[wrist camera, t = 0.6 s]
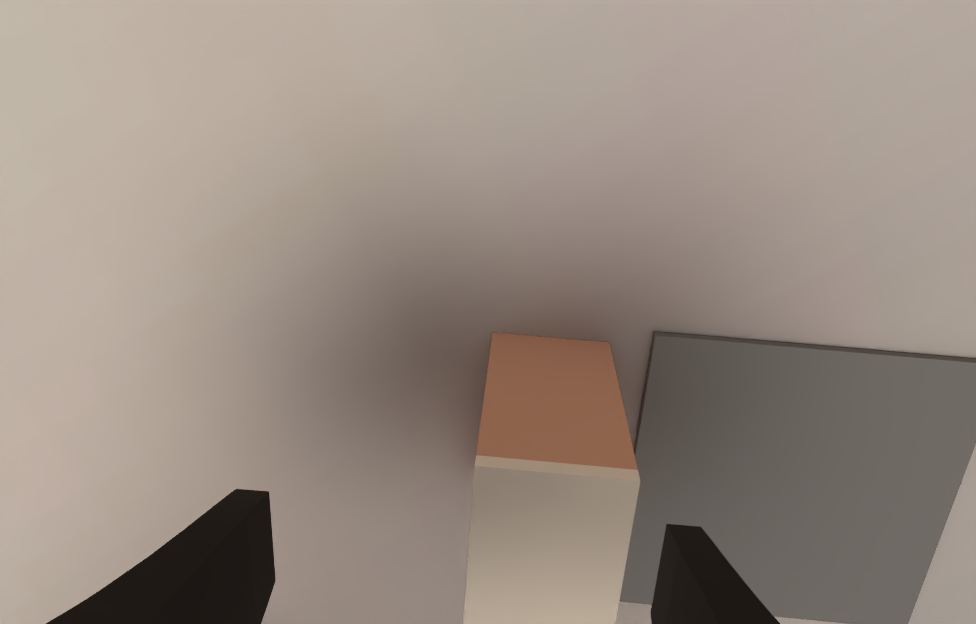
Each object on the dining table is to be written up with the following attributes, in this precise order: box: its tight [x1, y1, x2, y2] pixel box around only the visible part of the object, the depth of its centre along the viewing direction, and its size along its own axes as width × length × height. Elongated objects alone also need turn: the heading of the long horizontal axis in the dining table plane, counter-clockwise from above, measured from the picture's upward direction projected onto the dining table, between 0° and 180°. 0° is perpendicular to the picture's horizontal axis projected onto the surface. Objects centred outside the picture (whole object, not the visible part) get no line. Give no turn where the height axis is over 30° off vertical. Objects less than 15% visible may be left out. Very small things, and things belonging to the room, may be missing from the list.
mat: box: [619, 331, 976, 624], centre depth 23 cm, size 10×10×1 cm
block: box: [463, 332, 640, 624], centre depth 20 cm, size 5×4×7 cm
